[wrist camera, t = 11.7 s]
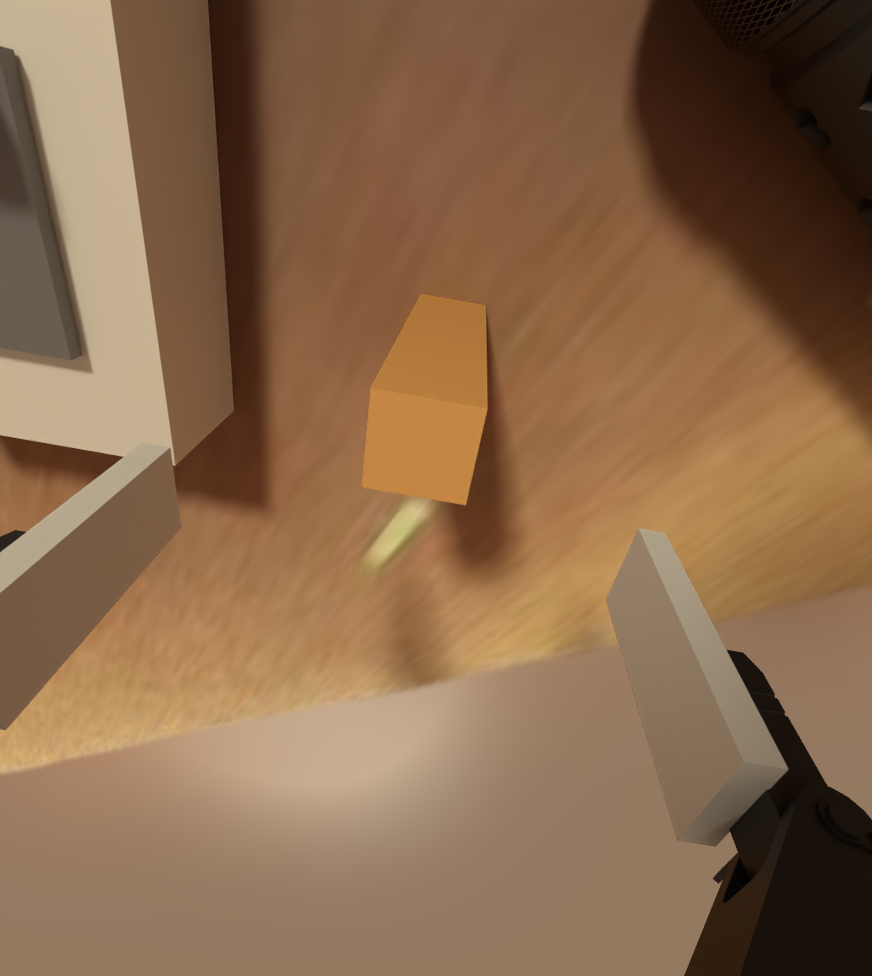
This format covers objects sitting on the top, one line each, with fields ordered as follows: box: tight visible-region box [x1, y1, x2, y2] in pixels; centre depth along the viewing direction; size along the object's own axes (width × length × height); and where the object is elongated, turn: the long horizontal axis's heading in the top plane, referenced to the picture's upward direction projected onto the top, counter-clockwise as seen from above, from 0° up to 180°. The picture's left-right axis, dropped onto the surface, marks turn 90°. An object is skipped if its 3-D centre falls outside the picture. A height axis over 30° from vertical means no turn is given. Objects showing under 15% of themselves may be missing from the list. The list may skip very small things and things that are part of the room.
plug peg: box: [362, 294, 488, 505], centre depth 25 cm, size 4×4×16 cm
